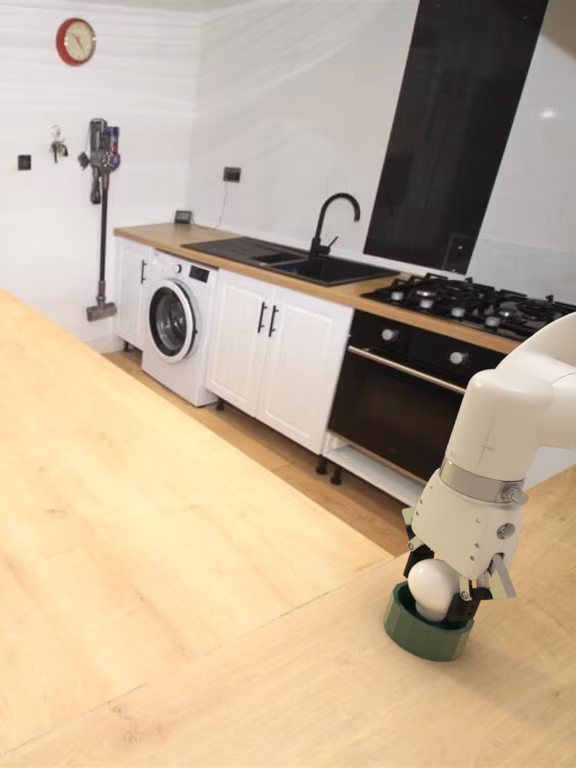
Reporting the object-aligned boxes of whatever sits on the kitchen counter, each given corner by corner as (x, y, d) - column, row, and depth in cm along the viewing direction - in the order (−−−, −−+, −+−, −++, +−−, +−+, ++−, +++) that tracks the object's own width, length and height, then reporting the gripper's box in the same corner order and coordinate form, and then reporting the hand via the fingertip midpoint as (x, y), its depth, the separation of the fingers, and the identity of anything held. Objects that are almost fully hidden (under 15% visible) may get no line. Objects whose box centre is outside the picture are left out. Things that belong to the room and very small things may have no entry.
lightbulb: (389, 631, 71) (406, 566, 67) (405, 604, 75) (421, 541, 71) (446, 660, 67) (468, 593, 62) (459, 629, 71) (480, 564, 66)
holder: (434, 608, 75) (445, 581, 73) (478, 663, 67) (491, 634, 65) (371, 607, 75) (379, 579, 73) (406, 662, 67) (417, 633, 65)
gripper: (585, 521, 54) (524, 650, 61) (447, 437, 70) (411, 548, 77) (521, 528, 53) (466, 658, 60) (395, 442, 69) (363, 553, 76)
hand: (435, 595), depth 69 cm, fingers closed on lightbulb, 6 cm apart
